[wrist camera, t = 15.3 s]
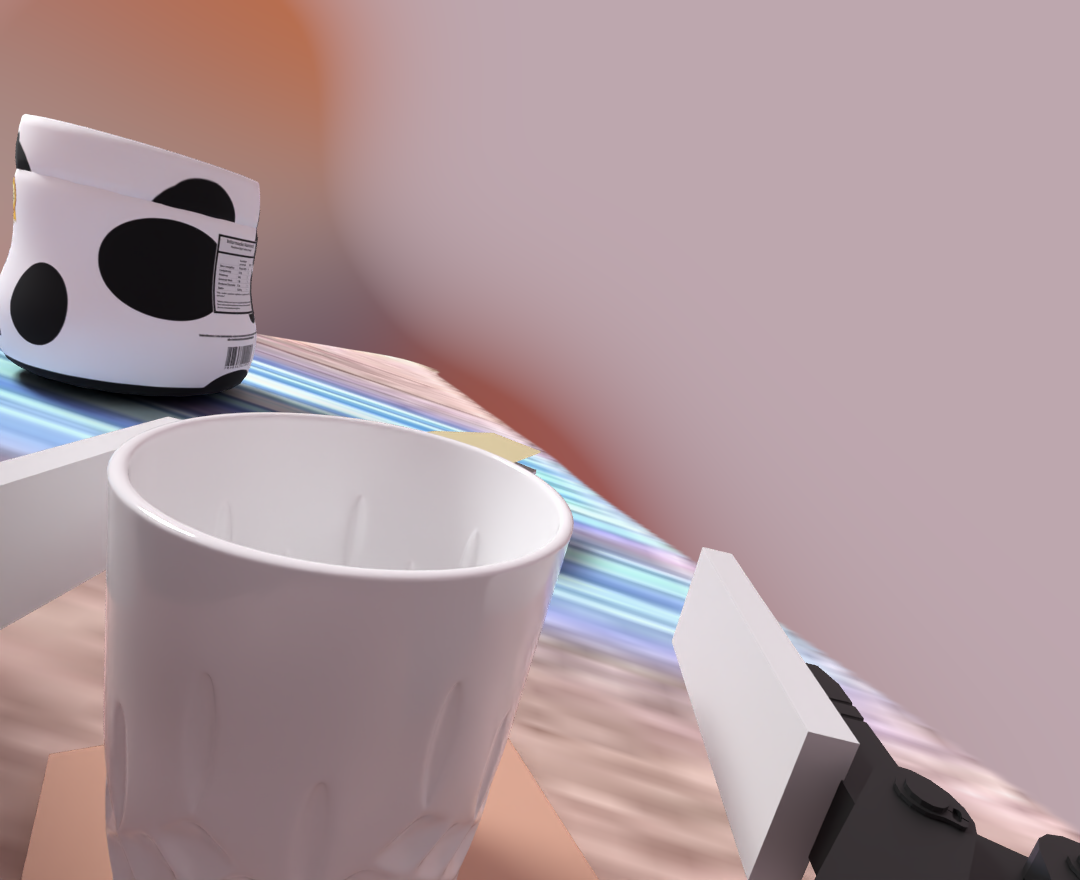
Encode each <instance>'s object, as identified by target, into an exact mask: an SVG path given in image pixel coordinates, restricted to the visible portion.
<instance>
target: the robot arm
mask: <svg viewBox="0 0 1080 880" xmlns="http://www.w3.org/2000/svg"><path fill="white" fill-rule="evenodd" d="M179 420H180V419H176V418H172V417H164V418H161V419H157V420H153V421H150V422H146V423H142V424H139V425H135V426H131V427H128V428H124V429H120V430H117V431H113V432H109V433H106V434H102V435H98V436H94V437H91V438H87V439H83V440H80V441H76V442H72V443H69V444H65V445H61V446H58V447H54V448H50V449H47V450H43V451H39V452H36V453H32V454H28V455H25V456H21V457H17V458H13V459H10V460H6V461H2V462H0V630H1V629H3V628H5V627H6V626H8V625H10V624H12V623H13V622H15V621H17V620H19V619H20V618H22V617H24V616H26V615H27V614H29V613H31V612H33V611H34V610H36V609H38V608H40V607H41V606H43V605H45V604H47V603H49V602H50V601H52V600H54V599H56V598H57V597H59V596H61V595H63V594H64V593H66V592H68V591H70V590H71V589H73V588H75V587H77V586H78V585H80V584H82V583H84V582H86V581H87V580H89V579H91V578H93V577H94V576H96V575H98V574H100V573H101V572H103V571H105V570H106V530H107V467H108V463H109V460H110V458H111V456H112V455H113V453H114V452H115V451H116V450H117V448H119V447H120V446H121V445H122V444H123V443H124V442H126V441H127V440H129V439H130V438H132V437H134V436H136V435H137V434H140V433H142V432H144V431H146V430H149V429H151V428H154V427H157V426H160V425H164V424H167V423H171V422H175V421H179ZM672 644H673V647H674V650H675V653H676V656H677V659H678V662H679V666H680V669H681V672H682V675H683V678H684V681H685V685H686V688H687V691H688V694H689V697H690V700H691V704H692V707H693V710H694V713H695V716H696V719H697V722H698V726H699V729H700V732H701V735H702V738H703V741H704V745H705V748H706V751H707V754H708V757H709V760H710V764H711V767H712V770H713V773H714V776H715V779H716V782H717V786H718V789H719V792H720V795H721V798H722V801H723V805H724V808H725V811H726V814H727V817H728V820H729V824H730V827H731V830H732V833H733V836H734V839H735V843H736V846H737V849H738V852H739V855H740V858H741V861H742V865H743V868H744V871H745V874H746V877H747V880H802V877H803V875H804V873H805V870H806V868H807V866H808V863H809V861H810V862H811V865H812V867H813V869H814V872H815V874H816V878H815V880H1080V843H1078V842H1075V841H1073V840H1070V839H1068V838H1065V837H1063V836H1056V835H1049V834H1046V835H1044V836H1043V837H1041V838H1039V839H1038V841H1037V843H1036V845H1035V847H1034V848H1033V850H1032V852H1031V854H1030V856H1029V858H1028V857H1026V856H1024V855H1021V854H1019V853H1017V852H1015V851H1013V850H1010V849H1008V848H1006V847H1004V846H1002V845H999V844H997V843H995V842H993V841H991V840H988V839H986V838H984V837H982V836H980V835H978V834H977V832H976V827H975V823H974V822H973V820H972V819H971V817H970V816H969V814H968V813H967V811H966V810H965V808H964V807H962V806H961V805H960V804H959V803H958V802H957V801H956V800H955V799H954V798H953V797H952V796H951V795H950V794H949V793H948V792H946V791H945V790H943V789H942V788H940V787H939V786H938V785H936V784H935V783H933V782H932V781H931V780H929V779H927V778H925V777H923V776H921V775H919V774H917V773H915V772H913V771H911V770H908V769H905V768H902V767H899V766H898V765H897V764H896V763H895V761H894V760H893V758H892V757H891V756H890V754H889V753H888V751H887V750H886V749H885V747H884V746H883V745H882V743H881V742H880V740H879V739H878V738H877V736H876V735H875V734H874V732H873V731H872V729H871V728H870V727H869V725H868V724H867V723H866V722H863V720H864V718H863V717H862V716H861V714H860V713H859V711H858V710H857V709H856V707H854V706H852V702H851V700H850V699H849V698H848V696H847V695H846V694H845V692H844V691H843V689H842V688H841V687H840V685H839V684H838V683H837V682H836V681H834V680H833V679H832V678H831V677H830V676H829V675H827V674H826V673H825V672H824V671H823V670H822V669H820V668H819V667H818V666H816V665H812V664H808V663H805V662H804V660H803V659H802V657H801V656H800V654H799V653H798V652H797V650H796V649H795V647H794V646H793V644H792V643H791V641H790V640H789V638H788V637H787V635H786V634H785V632H784V631H783V629H782V628H781V626H780V625H779V623H778V622H777V620H776V619H775V617H774V616H773V614H772V613H771V611H770V610H769V608H768V607H767V606H766V604H765V603H764V601H763V600H762V598H761V597H760V596H759V594H758V592H757V591H756V589H755V588H754V586H753V585H752V583H751V582H750V580H749V579H748V577H747V576H746V574H745V573H744V571H743V570H742V568H741V567H740V565H739V564H738V562H737V561H736V559H735V558H734V557H733V555H732V554H728V553H725V552H721V551H716V550H713V549H709V548H704V547H703V548H702V551H701V554H700V557H699V560H698V563H697V566H696V569H695V572H694V575H693V578H692V581H691V584H690V587H689V591H688V594H687V597H686V600H685V603H684V606H683V609H682V612H681V615H680V618H679V621H678V624H677V627H676V630H675V633H674V636H673V639H672Z"/></svg>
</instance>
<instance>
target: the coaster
mask: <svg viewBox="0 0 1080 880" xmlns="http://www.w3.org/2000/svg"><path fill="white" fill-rule="evenodd" d="M105 789H106V765H105V755H104V745H100V746H94V747H88V748H82V749H77V750H71V751H65V752H59V753H53V754H49V758H48V762H47V767H46V771H45V776H44V780H43V784H42V789H41V793H40V798H39V802H38V807H37V811H36V816H35V820H34V825H33V829H32V833H31V838H30V842H29V847H28V851H27V856H26V860H25V865H24V869H23V873H22V878H21V880H112V879H113V874H112V869H111V863H110V857H109V851H108V843H107V836H106V825H105ZM457 880H599V879H598V878H597V876H596V875H595V873H594V871H593V870H592V868H591V867H590V865H589V864H588V862H587V861H586V859H585V857H584V856H583V854H582V853H581V851H580V850H579V848H578V846H577V845H576V843H575V842H574V840H573V839H572V837H571V835H570V834H569V832H568V831H567V829H566V828H565V826H564V824H563V823H562V821H561V820H560V818H559V817H558V815H557V814H556V812H555V810H554V809H553V807H552V806H551V804H550V803H549V801H548V799H547V798H546V796H545V795H544V793H543V792H542V790H541V788H540V787H539V785H538V784H537V782H536V781H535V779H534V778H533V776H532V774H531V773H530V771H529V770H528V768H527V767H526V765H525V763H524V762H523V760H522V759H521V757H520V756H519V754H518V752H517V751H516V749H515V748H514V746H513V745H512V743H511V742H510V740H509V738H508V740H507V743H506V746H505V749H504V752H503V755H502V758H501V761H500V763H499V766H498V768H497V771H496V774H495V776H494V779H493V781H492V783H491V787H490V790H489V794H488V797H487V801H486V804H485V808H484V811H483V814H482V817H481V820H480V823H479V825H478V828H477V830H476V833H475V835H474V838H473V840H472V842H471V845H470V847H469V850H468V852H467V854H466V856H465V858H464V861H463V863H462V865H461V867H460V870H459V874H458V877H457Z"/></svg>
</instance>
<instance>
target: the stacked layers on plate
mask: <svg viewBox="0 0 1080 880" xmlns="http://www.w3.org/2000/svg"><path fill="white" fill-rule="evenodd" d="M428 433H432V434H436V435H440V436H443V437H447V438H450V439H453V440H457V441H460V442H463V443H466V444H469V445H472V446H475V447H477V448H480V449H483V450H485V451H488V452H491V453H493V454H495V455H498V456H500V457H502V458H505V459H507V460H509V461H511V462H513V463H515V464H517V465H519V466H521V467H523V468H525V469H526V470H528V471H530V472H531V473H533V474H536V470H534V469H532V468H530V467H527V466H525V465H522V464H520V463H517V461H520V460H522V459H525V458H527V457H530V456H533V455H535V454H538V453H540V451H538V450H535V449H533V448H530V447H528V446H525V445H523V444H520V443H518V442H515V441H512V440H510V439H507V438H505V437H502V436H500V435H497V434H495V433H477V432H447V431H431V432H428Z"/></svg>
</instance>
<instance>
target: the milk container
mask: <svg viewBox="0 0 1080 880" xmlns="http://www.w3.org/2000/svg"><path fill="white" fill-rule="evenodd" d="M15 158H16V168H17V170H16V173H15V176H14V179H13V205H14V208H13V210H14V222H13V223H14V224H13V236H12V244H11V248H10V251H9V254H8V257H7V260H6V262H5V265H4V267H3V270H2V272H1V274H0V348H1V349H2V351H3V352H4V354H5V355H6V357H7V358H8V359H9V360H11V361H12V362H13V363H15V364H16V365H17V366H19V367H21V368H24V369H26V370H28V371H30V372H32V373H34V374H36V375H38V376H41V377H45V378H48V379H52V380H56V381H60V382H64V383H67V384H70V385H74V386H77V387H83V388H88V389H96V390H102V391H107V392H113V393H121V394H135V395H143V396H175V397H181V396H193V395H204V394H213V393H219V392H222V391H224V390H228V389H231V388H233V387H235V386H237V385H238V384H240V383H241V382H242V380H243V379H244V378H245V377H246V375H247V373H248V371H249V368H250V366H251V363H252V360H253V356H254V352H255V347H256V324H255V318H254V312H253V305H252V297H251V281H252V272H253V265H254V259H255V253H256V247H257V240H258V237H257V230H256V229H257V226H258V222H259V215H260V189H259V183H258V182H256V181H254V180H252V179H249V178H247V177H245V176H242V175H239V174H237V173H234V172H231V171H228V170H226V169H223V168H220V167H218V166H215V165H212V164H208V163H205V162H202V161H199V160H196V159H193V158H190V157H187V156H184V155H180V154H178V153H174V152H171V151H168V150H164V149H161V148H158V147H154V146H151V145H147V144H144V143H141V142H137V141H134V140H131V139H127V138H123V137H120V136H116V135H112V134H109V133H105V132H101V131H98V130H94V129H90V128H87V127H83V126H79V125H75V124H71V123H66V122H62V121H58V120H54V119H49V118H45V117H40V116H34V115H28V114H25V115H23V116H22V119H21V122H20V125H19V131H18V137H17V142H16V156H15Z"/></svg>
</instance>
